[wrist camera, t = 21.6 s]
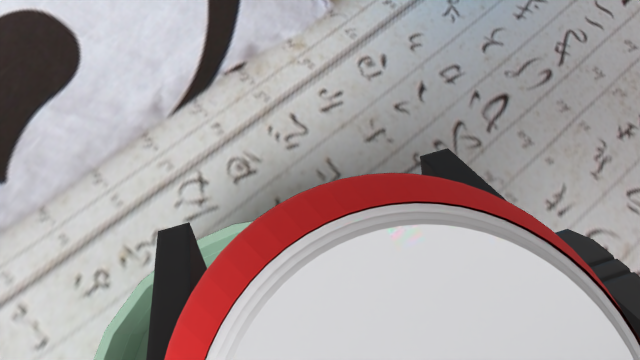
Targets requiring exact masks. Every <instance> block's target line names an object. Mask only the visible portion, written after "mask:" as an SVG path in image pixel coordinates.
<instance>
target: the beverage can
mask: <svg viewBox="0 0 640 360" xmlns="http://www.w3.org/2000/svg"><path fill="white" fill-rule="evenodd" d="M206 356H207V358H206V360H640V339H639V337H638V335H637V333H636V332H635V330H634V329H633V327H632V326H631V324H630V323H629V321H628V320H627V318H626V316H625V315H624V313H623V312H622V310H621V309H620V307H619V306H618V304H617V303H616V301H615V300H614V299H613V297H612V296H611V294H610V293H609V291H608V290H607V288H606V287H605V286H604V284H603V283H602V282H601V281H600V279H599V278H598V277H597V276H596V274H595V273H594V272H593V270H592V269H591V268H590V267H589V266H588V265H587V264H586V263H585V262H584V260H583V259H582V258H581V257H580V256H579V255H578V254H577V253H576V252H575V251H574V250H573V249H572V248H571V247H570V246H569V245H568V244H567V243H566V242H564V241H563V240H562V239H561V238H560V237H559V236H558V235H556V234H555V233H554V232H553V231H552V230H551V229H549V228H548V227H546V226H545V225H544V224H542V223H541V222H540V221H538V220H537V219H535V218H534V217H533V216H531V215H530V214H528V213H526V212H525V211H523V210H521V209H520V208H518V207H516V206H514V205H513V204H511V203H509V202H507V201H505V200H503V199H501V198H499V197H497V196H495V195H492V194H490V193H488V192H486V191H483V190H481V189H478V188H475V187H472V186H469V185H466V184H464V183H460V182H456V181H452V180H448V179H444V178H439V177H433V176H426V175H419V174H406V173H382V174H367V175H361V176H355V177H350V178H344V179H340V180H336V181H333V182H329V183H326V184H322V185H319V186H317V187H314V188H312V189H309V190H307V191H304V192H302V193H299V194H297V195H295V196H293V197H291V198H289V199H288V200H286V201H284V202H282V203H280V204H278V205H276V206H275V207H273V208H272V209H270V210H269V211H267V212H266V213H264V214H263V215H261V216H260V217H259V218H257V219H256V220H255V221H253V222H252V223H251V224H250V225H249V226H247V227H246V228H245V229H244V230H243V231H241V232H240V233H239V234H238V235H237V236H236V237H235V238H234V239H233V240H232V241H231V242H230V243H229V244H228V245H227V246H226V247H225V248H224V249H223V250H222V251H221V252H220V254H219V255H218V256H217V257H216V259H215V260H214V261H213V263H212V264H211V265H210V266H209V268H208V269H207V270H206V271H205V273H204V274H203V276H202V277H201V279H200V281H199V282H198V284H197V285H196V287H195V288H194V290H193V291H192V293H191V295H190V297H189V299H188V301H187V303H186V305H185V306H184V308H183V310H182V312H181V314H180V316H179V319H178V321H177V324H176V326H175V329H174V331H173V334H172V336H171V339H170V341H169V345H168V348H167V352H166V355H165V359H164V360H204V359H205V357H206Z"/></svg>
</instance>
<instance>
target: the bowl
mask: <svg viewBox="0 0 640 360" xmlns="http://www.w3.org/2000/svg"><path fill="white" fill-rule="evenodd" d="M252 222H253V221H251V222H244V223H237V224H233V225H231V226H228V227H226V228H224V229H222V230H219V231H217V232H215V233H212V234H210V235H208V236H206V237H203V238H201V239H199V240H197V244H198V246H199V249H200V251H201V254H202V257H203V259H204V262H205V264H206V267H207V269H208V268H209V266H210V265H211V264H212V263H213V261H214V260H215V259H216V257H217V256H218V255H219V254H220V252H221V251H222V250H223V249H224V248H225V247H226V246H227V245H228V244H229V243H230V242H231V241H232V240H233V239H234V238H235V237H236V236H237V235H238V234H239V233H240V232H241V231H243V230H244V229H245V228H246V227H247V226H249V225H250V224H251V223H252ZM153 281H154V271H153V272H152V273H150V274H149V275H148V276H147V277H145V278H144V279H143V280H142V281H141V282H140V283H139V284H138V286H137V287H136V288H135V290H134V291H133V292H132V294H131V295H130V297H129V298H128V299H127V301H126V302H125V303H124V305H123V306H122V308H121V309H120V310H119V312H118V313H117V314H116V316H115V317H114V319H113V320H112V321H111V323H110V324H109V325H108V327H107V328H106V330H105V332H104V334H103V337H102V339H101V342H100V345H99V347H98V350H97V352H96V355H95V357H94V360H146V356H147V346H148V335H149V324H150V313H151V302H152V291H153Z"/></svg>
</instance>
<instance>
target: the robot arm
mask: <svg viewBox="0 0 640 360" xmlns="http://www.w3.org/2000/svg"><path fill="white" fill-rule="evenodd" d="M420 160H421V170H422V175H426V176H433V177H439V178H444V179H448V180H452V181H456V182H460V183H464V184H466V185H469V186H472V187H475V188H478V189H481V190H483V191H486V192H488V193H490V194H492V195H495V196H497V197H499V198H501V199H503V200H505V199H504V198H503V197H502V196H501V195H500V194H498V193H497V192H496V191H495V190H494V189H493V188H492V187H491V186H490V185H488V184H487V183H486V182H485V181H484V180H483V179H482V178H481V177H479V176H478V175H477V174H476V173H475V172H474V171H473V170H472V169H471V168H469V167H468V166H467V165H466V164H465V163H464V162H463V161H462V160H460V159H459V158H458V157H457V156H456V155H455V154H454V153H453V152H452V151H450V150H449V149H448V148H447V149H444V150H440V151H437V152H433V153H430V154H426V155H423V156H420ZM505 201H506V200H505ZM555 234H556V235H558V236H559V237H560V238H561V239H562V240H563V241H564V242H566V243H567V244H568V245H569V246H570V247H571V248H572V249H573V250H574V251H575V252H576V253H577V254H578V255H579V256H580V257H581V258H582V259H583V260H584V262H585V263H586V264H587V265H588V266H589V267H590V268H591V269H592V270H593V272H594V273H595V274H596V276H597V277H598V278H599V279H600V281H601V282H602V283H603V284H604V286H605V287H606V288H607V290H608V291H609V293H610V294H611V296H612V297H613V299H614V300H615V301H616V303H617V304H618V306H619V307H620V309H621V310H622V312H623V313H624V315H625V316H626V318H627V320H628V321H629V323H630V324H631V326H632V327H633V329H634V330H635V332H636V333H637V335H638V337H639V339H640V277H639V276H638V275H637V274H636V273H634V272H632V273H631V272H630V269H629V268H628V267H627V266H626V265H624V264H623V263H622V262H621V261H619V260H618V259H614V257H613V255H612V254H611V253H609V252H608V251H607V250H606V249H604V248H603V247H602V246H601V245H599V244H598V243H597V242H596V241H594V240H593V239H590V238H588V237H586V236H583V235H581V234H578V233H576V232H574V231H571V230H569V229H566V230H563V231H560V232H556V233H555ZM206 270H207V267H206V264H205V262H204V259H203V257H202V254H201V251H200V249H199V246H198V244H197V241H196V239H195V236H194V233H193V231H192V228H191V226H190V223H186V224H182V225H179V226H175V227H172V228H168V229H165V230H161V231H158V237H157V248H156V259H155V270H154V281H153V291H152V302H151V313H150V324H149V335H148V346H147V356H146V360H164V359H165V355H166V352H167V348H168V345H169V341H170V339H171V336H172V334H173V331H174V329H175V326H176V324H177V321H178V319H179V316H180V314H181V312H182V310H183V308H184V306H185V305H186V303H187V301H188V299H189V297H190V295H191V293H192V291H193V290H194V288H195V287H196V285H197V284H198V282H199V281H200V279H201V277H202V276H203V274H204V273H205V271H206ZM206 358H207V356H206V357H205V359H204V360H206Z"/></svg>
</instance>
